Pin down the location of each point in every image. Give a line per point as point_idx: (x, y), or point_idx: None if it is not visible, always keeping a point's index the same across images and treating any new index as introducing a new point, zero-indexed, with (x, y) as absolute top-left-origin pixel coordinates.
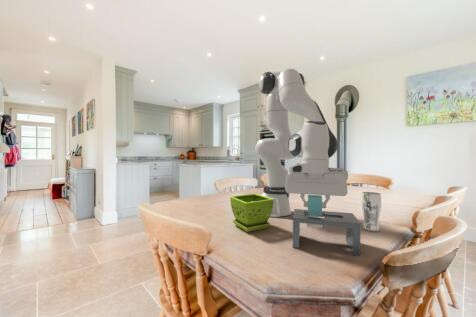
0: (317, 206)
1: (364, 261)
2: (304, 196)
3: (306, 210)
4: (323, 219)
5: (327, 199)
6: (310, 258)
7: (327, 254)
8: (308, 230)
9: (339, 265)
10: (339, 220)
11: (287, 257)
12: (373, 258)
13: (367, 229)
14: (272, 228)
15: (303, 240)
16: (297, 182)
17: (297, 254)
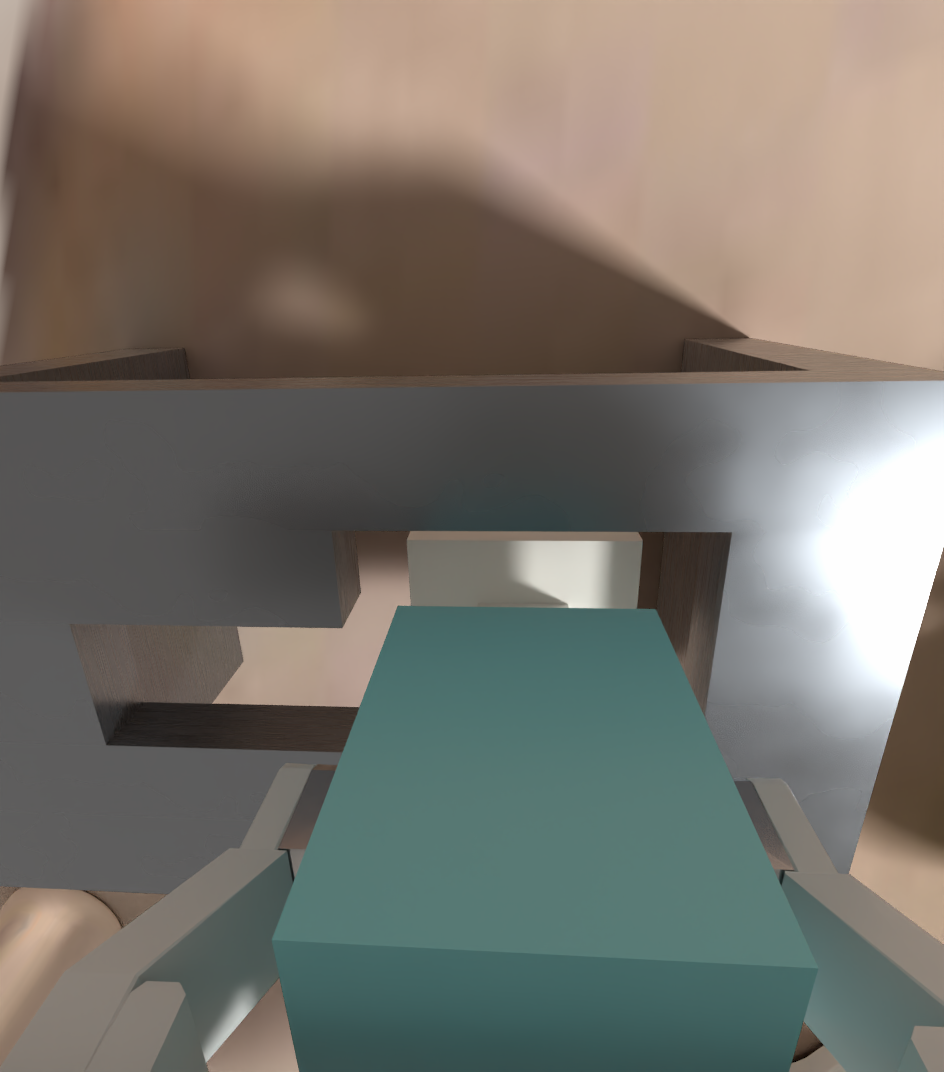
0: (467, 712)
1: (87, 236)
2: (920, 1052)
3: None
4: (377, 448)
5: (153, 947)
6: (578, 110)
7: (405, 283)
8: None
9: (298, 39)
10: (111, 467)
11: (837, 35)
12: (21, 334)
13: (81, 900)
14: (921, 776)
15: None
16: None
17: (712, 169)
